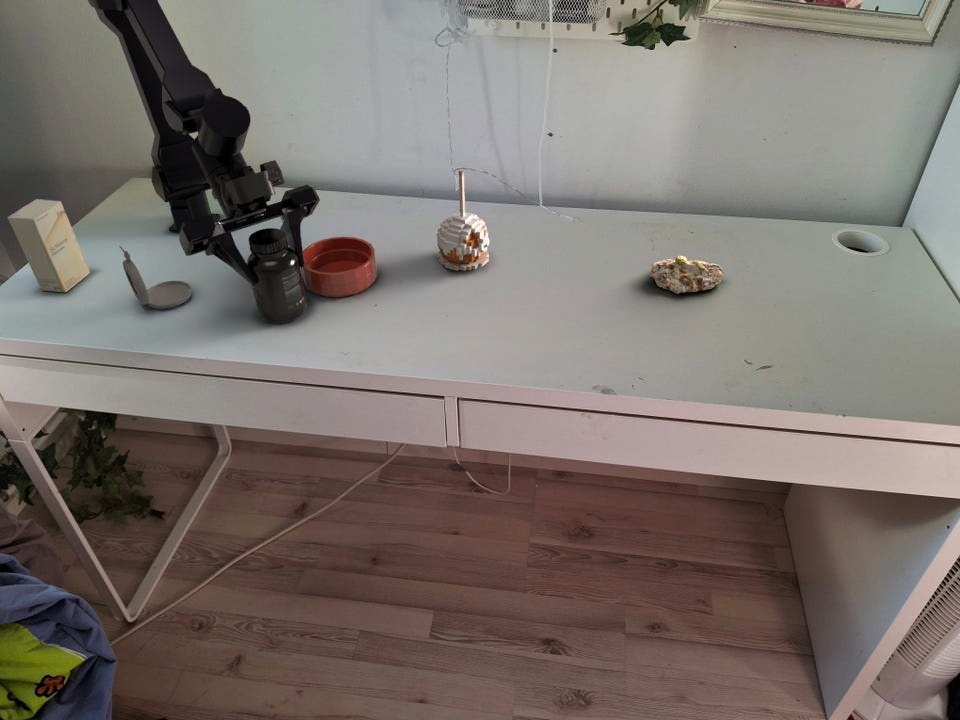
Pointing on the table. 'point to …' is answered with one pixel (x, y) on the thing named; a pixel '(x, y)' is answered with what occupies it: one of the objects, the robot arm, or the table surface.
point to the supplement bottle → (276, 277)
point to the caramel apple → (463, 238)
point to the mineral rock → (686, 275)
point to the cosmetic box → (49, 245)
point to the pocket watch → (155, 288)
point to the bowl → (339, 266)
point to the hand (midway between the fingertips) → (278, 275)
